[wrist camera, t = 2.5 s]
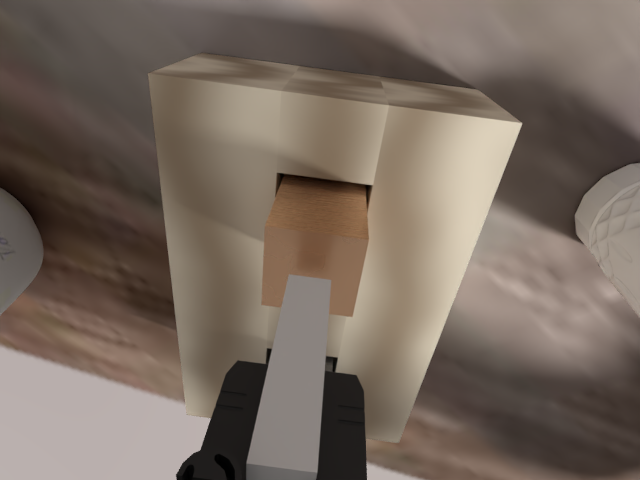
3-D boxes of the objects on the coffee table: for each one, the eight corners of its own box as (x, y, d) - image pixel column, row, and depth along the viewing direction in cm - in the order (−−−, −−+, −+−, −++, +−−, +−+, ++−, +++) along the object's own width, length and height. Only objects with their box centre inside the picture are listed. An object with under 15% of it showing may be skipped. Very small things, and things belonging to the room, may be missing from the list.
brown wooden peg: (364, 177, 20) (368, 240, 15) (352, 243, 22) (352, 317, 17) (286, 167, 20) (264, 226, 15) (282, 233, 22) (261, 304, 17)
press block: (477, 89, 23) (522, 123, 17) (390, 367, 35) (398, 442, 29) (201, 52, 23) (147, 73, 17) (214, 344, 35) (186, 414, 29)
